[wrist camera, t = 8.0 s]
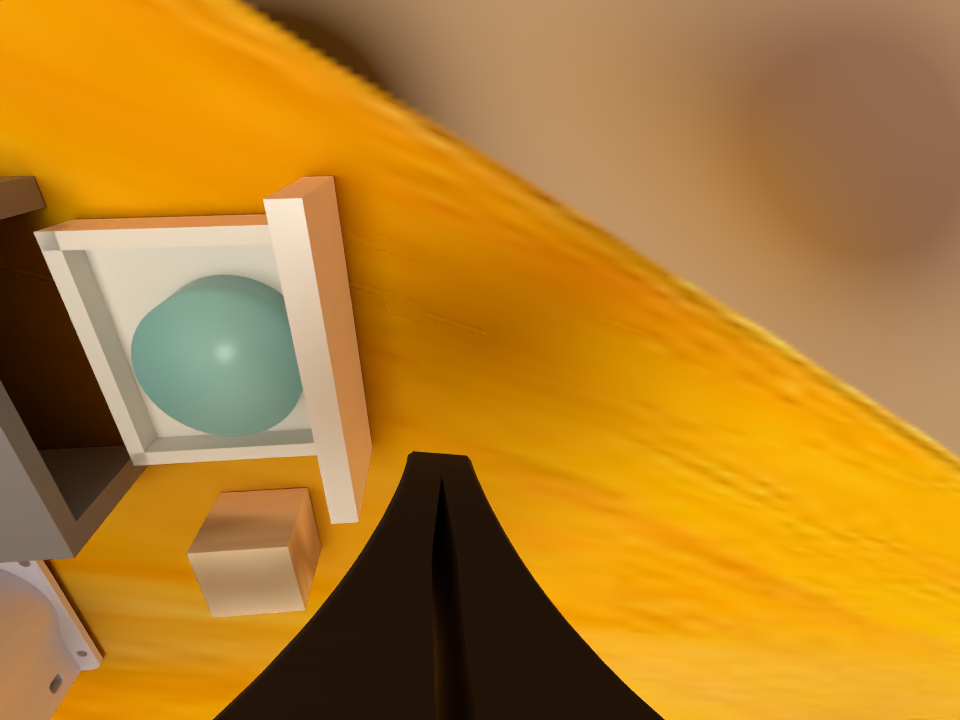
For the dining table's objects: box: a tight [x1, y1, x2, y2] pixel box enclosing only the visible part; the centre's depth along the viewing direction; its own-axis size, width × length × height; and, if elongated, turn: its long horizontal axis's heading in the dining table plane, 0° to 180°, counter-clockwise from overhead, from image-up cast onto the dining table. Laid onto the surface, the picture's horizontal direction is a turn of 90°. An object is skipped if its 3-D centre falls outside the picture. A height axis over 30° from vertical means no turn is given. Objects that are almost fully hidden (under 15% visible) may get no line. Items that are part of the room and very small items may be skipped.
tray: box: [34, 176, 372, 524], centre depth 17 cm, size 12×9×4 cm
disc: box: [131, 275, 303, 436], centre depth 18 cm, size 6×6×2 cm
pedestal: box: [186, 488, 321, 618], centre depth 23 cm, size 4×4×4 cm
